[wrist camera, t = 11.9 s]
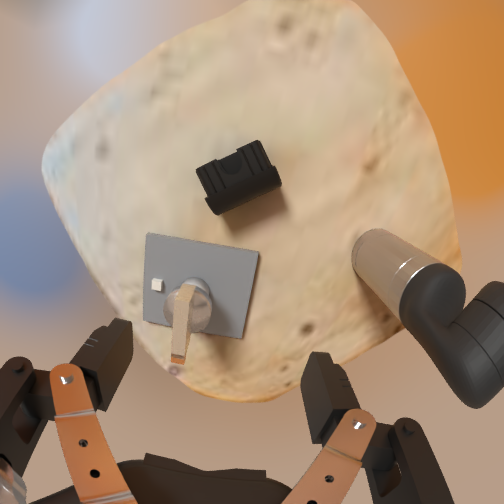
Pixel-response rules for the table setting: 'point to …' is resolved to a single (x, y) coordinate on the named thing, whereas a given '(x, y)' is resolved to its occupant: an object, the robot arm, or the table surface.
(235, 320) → the base
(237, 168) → the end cap
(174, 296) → the lock knob
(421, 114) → the table surface
